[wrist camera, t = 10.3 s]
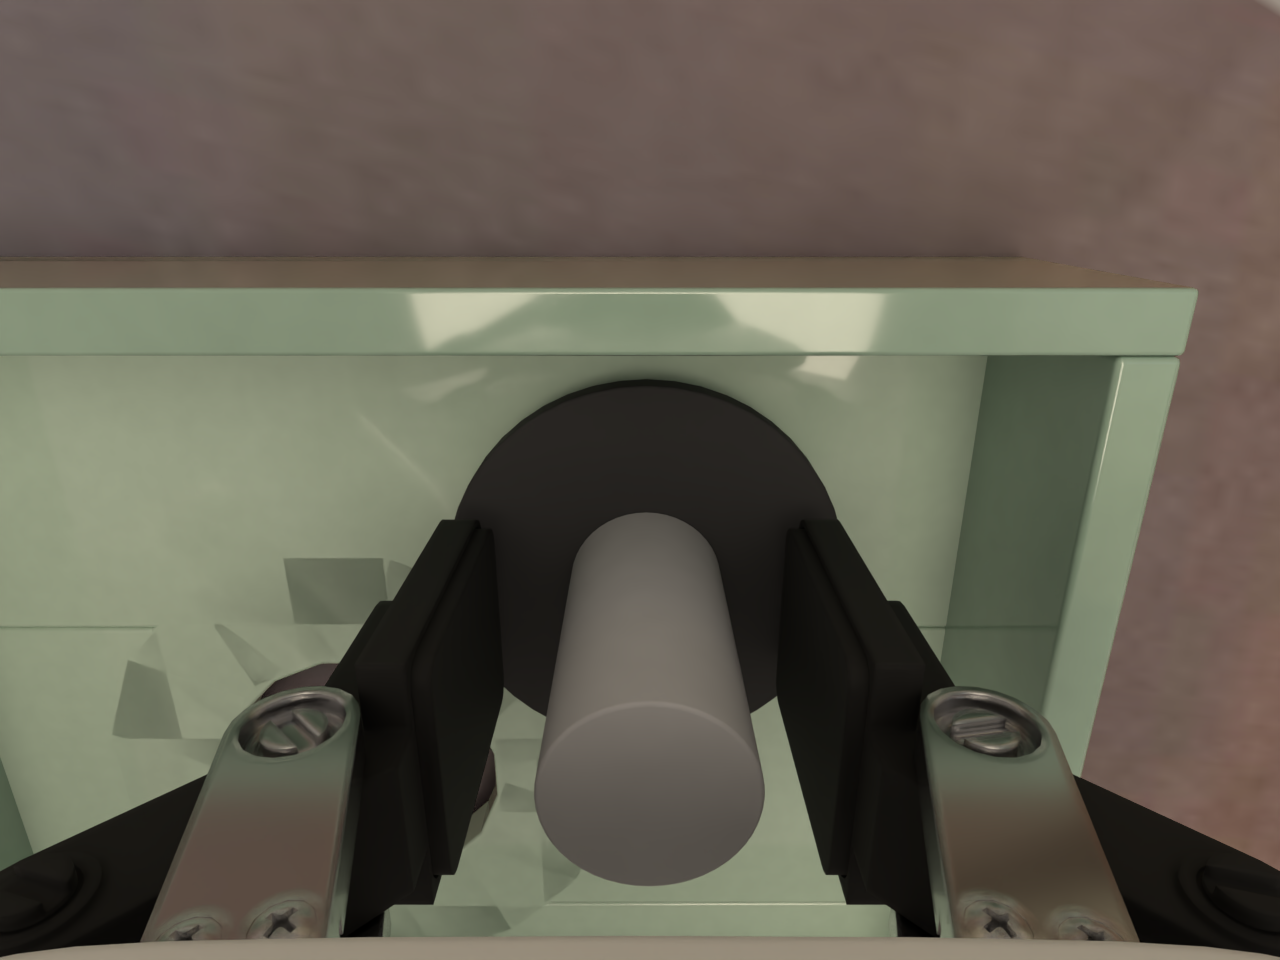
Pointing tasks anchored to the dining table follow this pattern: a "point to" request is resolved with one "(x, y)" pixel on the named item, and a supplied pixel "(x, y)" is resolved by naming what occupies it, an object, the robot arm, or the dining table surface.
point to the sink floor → (395, 578)
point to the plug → (644, 614)
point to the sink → (747, 326)
